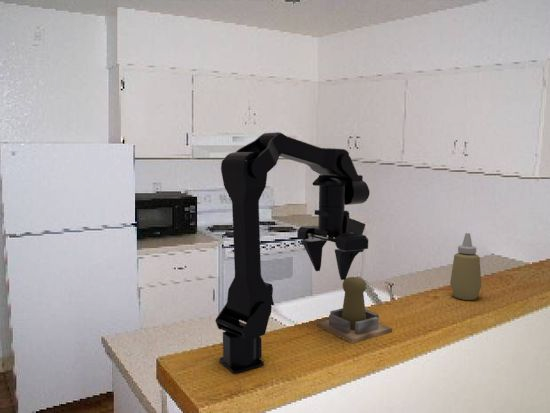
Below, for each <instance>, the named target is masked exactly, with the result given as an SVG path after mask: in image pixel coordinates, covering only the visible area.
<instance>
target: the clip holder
mask: <svg viewBox="0 0 550 413" xmlns="http://www.w3.org/2000/svg"><path fill="white" fill-rule="evenodd" d="M342 309H343V307H342V308H339V309H333V310H330V312H329V315H328V319H325V320H321V321H318V322H316V326H317V327H318V328H320V329H322V330H324V329H325V330H324V331H326V330H327V331H326V332H328V331H329V332H328V333H330V332H331V333H330V334H332V333H333V334H332V335H334V334H336V335H337V336H336V335H335V336H336V337H338V336H340V337H341V338H340V337H339V338H340V339H342V338H344V339H345V340H344V339H343V340H344V341H346V340H347V341H346V342H348V341H349V342H348V343H350V344H354V343H358V342H361V341H364V340H367V339H371V338H375V337H379V336H382V335H386V334H389V333H392V332H393V328H392V327H390V326H388V325H385V324H383V323H380V322H379V321H380V320H379V319H380V318H379V314H378V313H375V312H372V311H371V310H368V309H366V308H365V312H366V320H362V321H358V322H355V330H350V321H347V320H345V319H343V318H341V316H342Z"/></svg>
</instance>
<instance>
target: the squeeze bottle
mask: <svg viewBox="0 0 550 413" xmlns="http://www.w3.org/2000/svg"><path fill="white" fill-rule="evenodd" d="M463 237H464V238H463V241H462V244H460V245H458V247H457V252H456V253H455V254H453V262H452V268H451V275H450V281H449V284H450V287H451V290H452V293H453V297H454V298H456V299H458V300H463V301H474V300H476V299H477V298H478V296H479V294H480V291H481V289H482V287H483V286H482V274H481V272H482V270H481V260H480V258H481V257H480V256H479V255H478V254H477V247H476V246H474V245H473V242H472V237H471V233H469V232H467V233H464V236H463Z"/></svg>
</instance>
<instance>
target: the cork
mask: <svg viewBox="0 0 550 413" xmlns="http://www.w3.org/2000/svg"><path fill="white" fill-rule="evenodd" d="M342 281H343V282H342V290H343V291H344V296H343V305H342V308H343V309H342V308H341V309H342V316H341V318H343V319H345V320H347V321H350V330H355V322H358V321H362V320H366V312H365V309H366V306H365V304H366V303H365V296H364V293H365V291H366V289H367V283H366V281H365V279H363V278H361V277H359V276H358V277H357V276H349V277H346V279H345V280H342Z"/></svg>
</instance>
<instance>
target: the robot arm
mask: <svg viewBox="0 0 550 413" xmlns="http://www.w3.org/2000/svg"><path fill="white" fill-rule="evenodd" d="M280 157H281V158H284V159H286V160H291V161H294V162H297V163H301V164H304V165H307V166H308V167H309V168H310V169H311V170H312V171H313V172H315V173H317V174H318V177H317V178H316V179H315V180H313V182H312V185H313V186H315V187H317V186H318V209H315V210H314V215H315V216H318V223H317V224H318V225H304V226H303V225H302V226H300V227H299V228H297V230H296V232H297V237H296V238H297V239H298V240H300V243H301V244H302V245H303V248H304V249H305V251H306V253H307V255H308V258H309V259H310V262H311V263H312V266H313V268H314V270H315V272H320V271H321V266H322V258H323V248H324V246H325V245H326V243H327V242H331V243H334V244H335V246H336V248H337V249H336V248H335V249H334V254H335V259H336V265H337V270H338V275H339V279H340V280H341V281H344V280H345V279H346V278H348V277H347V276H348V274H349V272H350V269H351V266H352V264H353V262H354V259H355V258H356V256H358V254H359V253H363V252H364V251H365V250H367V249H369V238H368V237H367V235H365V234H364V231H365V228H366V224H365V223H363V222H361V221H359V220H356V219H354V218H350V213H349V211H348V210H345V206H347V205H348V206H350V205H362V204H364V203H366V202H367V201H368V200H369V197H370V189H369V186H368V184H367V183H366V182H365V181H364V178H363V175H361V174H358V172H357V170H356V167H355V165H354V162H353V160H352V158H351V156H350V152H349V151H348V150H347V149H344V148H335V147H334V148H331V147H327V148H325V147H320V146H317V145H315V144H311V143H308V142H305V141H302V140H299V139H296V138H292V137H291V136H287V135H286V134H284V133H281V132H265V133H262V134H261V135H260V136H258V137H257V138H256V139H255V140H253V141H251V142H250V143H247V144H246V145H244V146H242V147H240V148H239V149H237V150H236V151H235V152H230V153H228V154H226V155H225V157H224V159H223V160H222V161H221V163H220V164H221V165H220V172H221V177H222V181H223V187H224V189H225V191H226V192H227V194H228V197H229V198H230V200H231V206H232V207H231V208H232V209H231V210H232V235H233V236H232V237H233V256H234V258H233V259H234V278H233V280H232V281H231V284H230V286H229V287H228V291H227V299H226V303H225V305H224V307H223V308H222V309H221V311H220V312H219V313H218V315H217V317H216V319H215V324H216V327H217V329H218V330H220V331H221V330H222V331H223V332H222V356H221V357H219V359H218V360H219V362H220V363H221V364H222V365H223V366H225V367H226V369H228V370H229V371H230V372H232V373H233V374H237V373H240V372H245V371H249V370H252V369H255V368H258V367H262V366H264V365H265V362H264V361H263V360H262V356H263V355H262V353H263V352H262V345H263V344H262V342H263V341H262V336H265V335H266V331H267V327H268V324H269V320H270V316H271V314H272V306H274V305H275V303H274V299H273V293H274V288H273V284H272V283H269V282H265V281H264V279H263V277H262V276H263V275H262V268H261V266H262V265H261V260H262V259H261V234H260V232H261V231H260V229H261V228H260V199H261V196H262V195H263V192H264V190H265V189H266V187H267V180H268V179H267V178H268V173H269V172H270V171H271V170H272V169H273V168H275V166H276V165H277V163H278V162H279V159H280Z"/></svg>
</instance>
